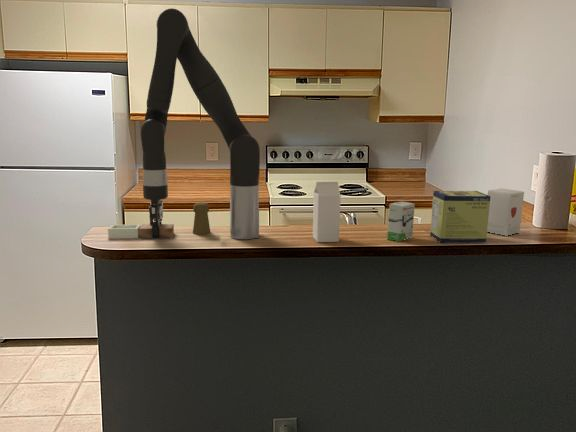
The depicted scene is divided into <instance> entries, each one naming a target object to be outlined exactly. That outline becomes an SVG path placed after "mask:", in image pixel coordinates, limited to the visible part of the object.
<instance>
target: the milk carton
mask: <svg viewBox="0 0 576 432" xmlns="http://www.w3.org/2000/svg"><path fill="white" fill-rule="evenodd" d="M315 183H316V184H315V186H314V187H315V188H314V191H313V205H312V206H313V207H312V208H313V211H312V213H313V214H312V237H313V239H314V240H315V241H316V243H339V242H340V222H341V219H340V218H341V197H342V196H341V192H340V187H339V181H316V182H315Z"/></svg>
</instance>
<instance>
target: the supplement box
mask: <svg viewBox="0 0 576 432" xmlns="http://www.w3.org/2000/svg"><path fill="white" fill-rule="evenodd" d="M487 195H488V196H491V197H490V207H489V217H488V226H487V233H488V232H490V233H489V234H492V233H495V234H494V235H497V234H501V235H500V236H502V235H505V236H504V237H506V236H507V237H509V236H508V235H511V236H513V235H512V234H515V233H519V232H520V231H521V223H522V215H523V214H522V213H523V207H524V206H523V205H524V197H525V196H524V195H525V191H523V190H522V191H521V190H514V189H508V188H496V189H495V188H494V189H489V190H487ZM519 234H520V233H519ZM515 235H516V234H515Z"/></svg>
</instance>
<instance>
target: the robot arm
mask: <svg viewBox="0 0 576 432" xmlns="http://www.w3.org/2000/svg"><path fill="white" fill-rule="evenodd" d="M182 12H183V11H180V10H178V9H176V8H166V9H164V10H163V11H161V12H160V13H159V15H158V16H157V19H156V50H155V58H154V63H153V68H152V72H151V73H152V74H151V78H150V82H149V87H148V92H147V96H146V97H147V98H146V111H145V116H144V120H143V123H142V125H141V126H140V140H141V148H142V193H143V199H144V200H149V201H150V203H149V205H148V210H149V212H148V213H149V224H150V226H152V238H159V225H160V224H162V223H163V217H164V216H163V215H164V210H163V209H164V203H163V200H166V199H167V198H168V197H169V190H168V187H169V186H168V184H169V183H168V173H167V158H166V157H167V156H166V152H165V135H166V132H167V131H166V129H167V124H168V115H169V110H170V107H171V103H172V97H173V91H174V85H175V75H176V66H177V60H178V62H179V63H180V66H181V68H182V70H183V72H184V75H185V77H186V79H187V82H188V84H189V86H190V88H191V89H192V91H193V93H194V95H195V97H196V98H197V100H198V102H199V103H200V105H201V107H202V108H203V109H204V111H205V113H207V115H208V116H209V118H211V120H212V121H213V122H214V124H215V125H216V126H217V128H218V130H219V131H220V133H221V135H222V137H223V139H224V140H225V144H226V145H227V148H228V150H229V153H230V154H229V156H230V157H229V159H230V171H229V172H230V173H229V199H230V203H229V212H230V213H229V215H230V216H229V217H230V219H229V222H230V223H229V224H230V227H229V228H230V231H229V233H230V238H232V239H237V240H251V239H259V238H260V209H259V207H260V206H259V204H260V203H259V202H260V201H259V199H260V198H259V197H260V195H259V194H260V193H259V188H260V187H259V186H260V185H259V184H260V183H259V182H260V166H261V162H260V159H261V158H260V157H261V153H260V152H261V151H260V150H261V149H260V145H259V142H258V141H257V139H255V137H254V136H252V135H251V133H250V132H249V131H248V129H247V128H246V127H245V125H244V123H243V122H242V121H241V119H240V117H239V115H238V113H237V111H236V108H235V105H234V103H233V100H232V98H231V96H230V93H229V92H228V90H227V87H226V86H225V84H224V83H223V81H222V79H221V78H220V76H219V74H218V72H217V71H216V70H215V68H214V67H213V66H212V64H211V63H210V61H209V60H208V59H207V58H206V56H205V55H204V54H203V53H202V50H200V48H199V47H198V44H197V42H196V40H195V38H194V35H193V34H192V31H191V29H190V27H189V22H188V18H186V16H185V15H184V13H182Z"/></svg>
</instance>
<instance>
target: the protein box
mask: <svg viewBox="0 0 576 432" xmlns="http://www.w3.org/2000/svg"><path fill="white" fill-rule="evenodd" d="M432 193H433V194H432V196H433V197H432V205H431V221H430V232H429V233H430V234H429V235H431V236H430V237H432V236H433V237H434V239H435V238H436V239H437V240H438V241H437V240H436V239H435V240H436V241H437V242H439V241H440V242H486V243H487V237H488V236H487V234H488V232H487V226H488V217H489V207H490V197H491V196H488V194H485V193H484V192H481V191H478V190H433V192H432ZM433 237H432V238H433ZM440 242H439V243H440Z"/></svg>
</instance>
